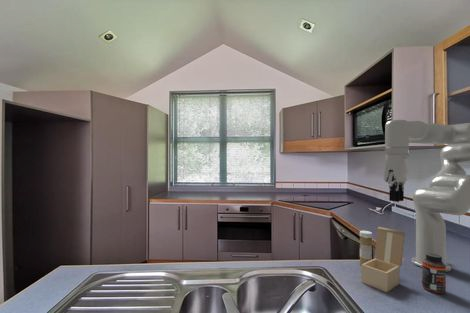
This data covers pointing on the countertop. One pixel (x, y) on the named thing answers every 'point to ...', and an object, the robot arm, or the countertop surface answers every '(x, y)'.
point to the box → (380, 274)
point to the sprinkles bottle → (365, 246)
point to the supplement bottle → (434, 274)
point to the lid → (389, 245)
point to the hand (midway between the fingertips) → (396, 200)
